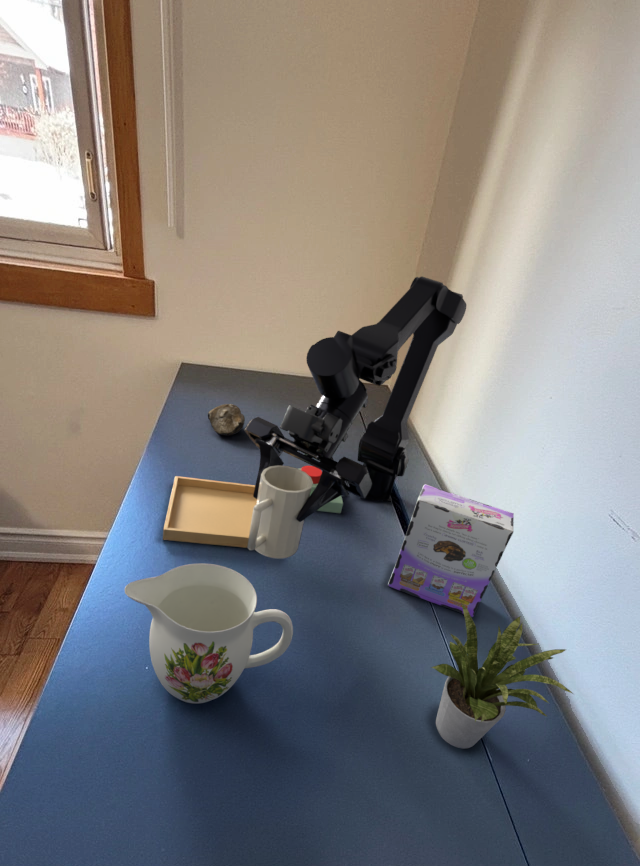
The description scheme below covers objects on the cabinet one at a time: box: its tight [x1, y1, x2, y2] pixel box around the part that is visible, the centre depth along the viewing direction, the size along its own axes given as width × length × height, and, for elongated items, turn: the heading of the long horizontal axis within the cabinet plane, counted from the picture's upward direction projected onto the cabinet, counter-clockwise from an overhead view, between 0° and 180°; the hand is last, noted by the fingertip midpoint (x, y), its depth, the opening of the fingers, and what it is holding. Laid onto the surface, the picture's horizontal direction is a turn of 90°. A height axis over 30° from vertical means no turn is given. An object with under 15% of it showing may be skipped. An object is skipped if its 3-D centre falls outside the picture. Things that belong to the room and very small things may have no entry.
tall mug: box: [246, 465, 313, 560], centre depth 73 cm, size 10×7×11 cm
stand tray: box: [162, 475, 257, 549], centre depth 90 cm, size 16×16×2 cm
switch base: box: [298, 467, 344, 514], centre depth 100 cm, size 12×10×4 cm
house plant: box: [430, 601, 574, 749], centre depth 58 cm, size 14×14×16 cm
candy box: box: [387, 483, 515, 618], centre depth 80 cm, size 14×6×16 cm, turn 71°
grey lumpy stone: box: [207, 403, 246, 436], centre depth 116 cm, size 8×7×10 cm
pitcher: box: [124, 562, 294, 704], centre depth 59 cm, size 11×18×14 cm, turn 101°
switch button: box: [300, 465, 323, 484], centre depth 99 cm, size 4×4×2 cm
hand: (276, 509), depth 73 cm, fingers closed on tall mug, 7 cm apart
